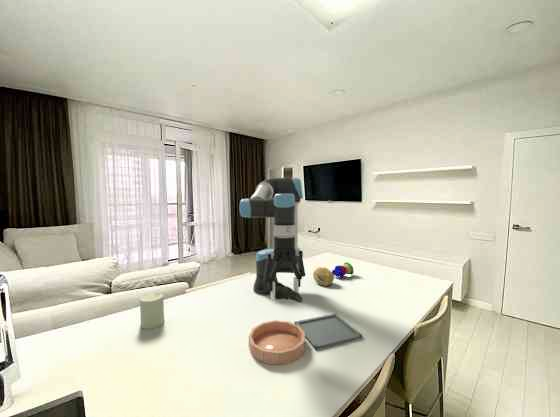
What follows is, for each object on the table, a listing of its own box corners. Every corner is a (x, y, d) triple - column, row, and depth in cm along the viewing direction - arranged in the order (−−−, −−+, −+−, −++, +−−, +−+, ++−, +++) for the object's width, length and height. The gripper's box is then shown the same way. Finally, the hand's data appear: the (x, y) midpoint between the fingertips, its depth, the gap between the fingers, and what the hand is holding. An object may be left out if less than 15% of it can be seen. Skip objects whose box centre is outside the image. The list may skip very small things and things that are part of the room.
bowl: (244, 336, 95) (244, 326, 94) (291, 326, 102) (291, 317, 101) (257, 371, 76) (257, 358, 76) (314, 356, 83) (314, 344, 83)
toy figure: (340, 283, 158) (356, 275, 165) (339, 270, 156) (356, 263, 163) (331, 278, 166) (347, 271, 173) (330, 265, 164) (346, 258, 170)
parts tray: (294, 324, 103) (294, 321, 103) (335, 316, 110) (335, 313, 110) (315, 350, 86) (315, 346, 86) (362, 338, 93) (362, 335, 93)
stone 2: (336, 284, 149) (336, 268, 149) (324, 288, 143) (325, 271, 143) (321, 279, 159) (321, 264, 159) (310, 282, 153) (310, 266, 153)
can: (169, 319, 108) (168, 293, 107) (152, 330, 99) (151, 301, 98) (153, 316, 111) (152, 290, 110) (135, 326, 102) (134, 298, 101)
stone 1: (296, 307, 82) (296, 291, 82) (264, 297, 89) (265, 283, 89) (305, 299, 88) (306, 285, 88) (275, 291, 95) (275, 278, 95)
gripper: (259, 240, 80) (259, 306, 82) (315, 235, 88) (315, 296, 89) (253, 236, 87) (253, 298, 88) (305, 233, 95) (305, 289, 96)
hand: (284, 297), depth 89 cm, fingers closed on stone 1, 8 cm apart
